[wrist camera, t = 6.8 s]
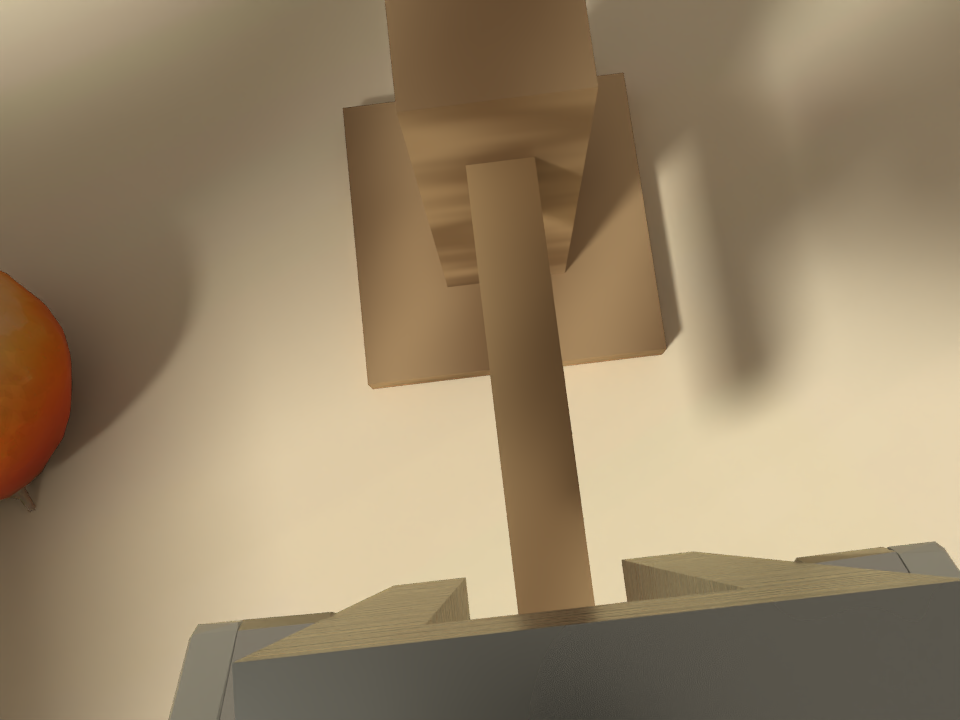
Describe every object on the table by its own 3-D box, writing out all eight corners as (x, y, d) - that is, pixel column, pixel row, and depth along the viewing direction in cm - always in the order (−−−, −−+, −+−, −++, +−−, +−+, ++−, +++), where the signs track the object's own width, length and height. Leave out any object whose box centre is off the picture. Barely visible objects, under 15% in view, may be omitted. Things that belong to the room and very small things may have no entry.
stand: (396, 647, 29) (288, 750, 16) (347, 120, 33) (225, -174, 19) (701, 612, 29) (866, 687, 15) (620, 86, 33) (694, -237, 19)
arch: (405, 712, 14) (250, 993, 6) (393, 586, 15) (231, 662, 6) (713, 677, 14) (1039, 905, 6) (693, 551, 15) (972, 579, 6)
